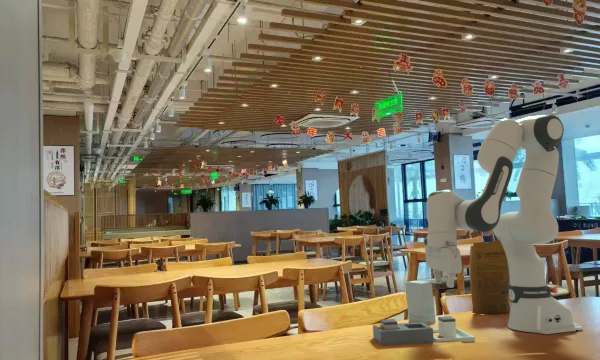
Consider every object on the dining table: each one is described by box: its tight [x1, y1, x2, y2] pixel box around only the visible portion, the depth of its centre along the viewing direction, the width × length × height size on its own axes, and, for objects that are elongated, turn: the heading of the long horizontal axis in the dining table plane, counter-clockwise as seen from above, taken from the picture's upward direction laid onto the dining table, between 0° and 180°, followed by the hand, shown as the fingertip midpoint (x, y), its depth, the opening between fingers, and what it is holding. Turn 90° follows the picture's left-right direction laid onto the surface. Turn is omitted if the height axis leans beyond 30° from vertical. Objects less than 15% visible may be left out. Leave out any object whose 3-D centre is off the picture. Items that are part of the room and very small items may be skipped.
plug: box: [437, 315, 457, 338], centre depth 148 cm, size 4×4×6 cm
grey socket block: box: [372, 322, 435, 347], centre depth 144 cm, size 16×9×6 cm, turn 95°
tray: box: [433, 327, 476, 343], centre depth 148 cm, size 12×12×2 cm
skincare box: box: [404, 280, 437, 325], centre depth 172 cm, size 8×6×15 cm
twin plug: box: [380, 318, 398, 330], centre depth 144 cm, size 4×4×6 cm
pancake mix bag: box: [468, 240, 510, 315], centre depth 184 cm, size 7×19×28 cm, turn 99°
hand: (444, 285), depth 149 cm, fingers open, 8 cm apart
